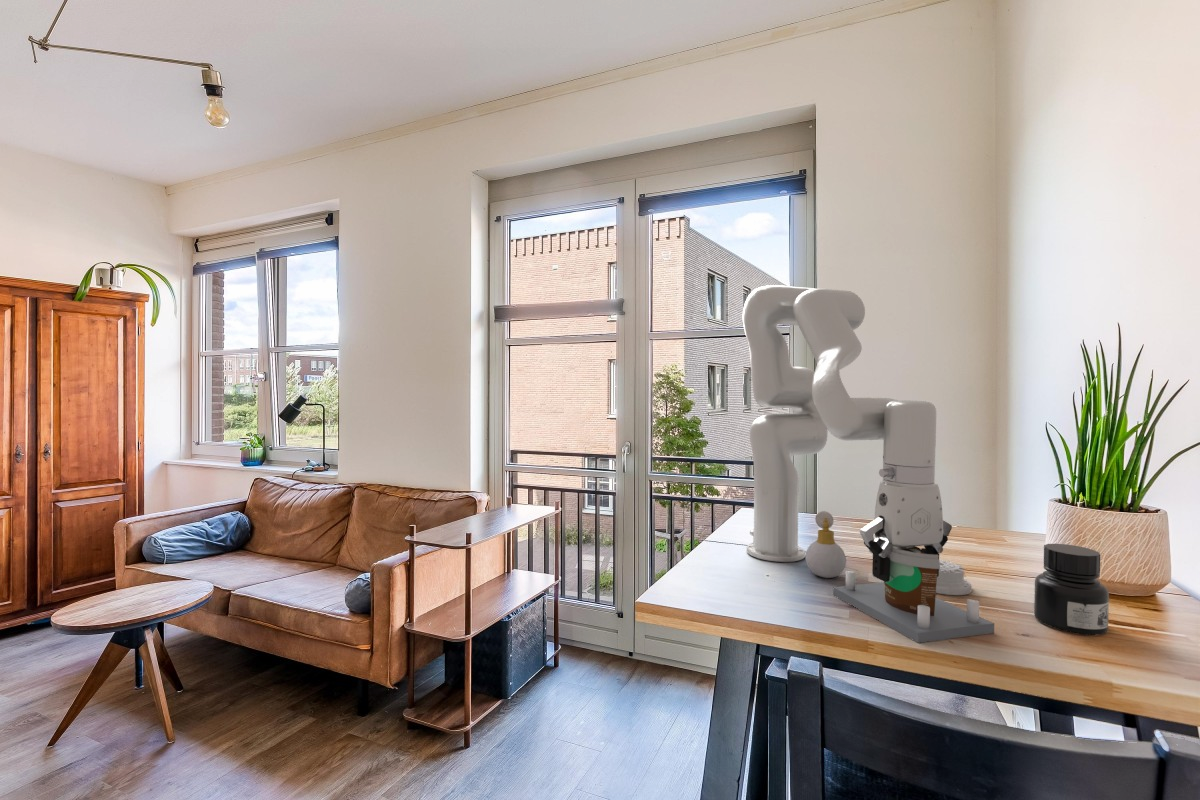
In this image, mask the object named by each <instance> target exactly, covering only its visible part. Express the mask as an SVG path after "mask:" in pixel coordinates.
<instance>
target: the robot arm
mask: <svg viewBox="0 0 1200 800" xmlns="http://www.w3.org/2000/svg"><path fill="white" fill-rule="evenodd" d="M865 316H866V308H865V304H864V302H863V300H862V299H861V298H860V297H859V295H858V294H856V293H855V292H852V291H851V290H850V291H849V290H843V289H842V290H841V289H832V288H831V289H829V288H813V287H803V286H801V287H799V286H789V285H777V284H776V285H775V284H774V285H771V284H770V285H765V286H760V287H758V288H755V289H753V290H752V291H751V292H750V294H748V296H747V298H746V300H745V302H744V306H743V310H742V323H743V324H742V326H743V329H744V334H745V336H746V337H745V338H746V341H747V343H748V348H749V350H748V351H749V359H750V360H749V361H750V372H751V382H752V393H753V397H754V400H755V402H756V404H757V405H759V406H760V407H763V408H767V409H791V410H792V413H768V414H764V415H761V416H759V417H757V418H756V419H755V420H753V422H752V424H751V426H750V428H749V441H750V446H751V451H752V458H753V459H752V460H753V488H754V489H753V529H751V530H750V531H749V535H751V536H752V537H753V538H752V542H750V543H748V544H747V545H746V552H747V554H748V555H749V556H752V557H754V558H757V559H759V560H764V561H768V562H775V563H776V562H777V563H778V562H779V563H792V562H798V561H802V560H804V558H805V559H806V550H805V549H804V548H802V547H800V546H799V474H798V471H797V469H796V467H795V464H794V463H793V461H792V459H791V457H793V456H809V455H815V454H818V453H821V452H822V451H823V449H824V448H825V446H826V445H827V441H828V432H829V433H830V434H831V435H832V436H833V437H835V438H837V439H839V440H841V441H851V442H852V441H879V440H880V441H883V442H882V443H883V445H882V446H883V450H882V451H883V452H882V468H880V469H879V470H878V474H879V477H881V478H882V481H880V482H879V485H878V490H877V495H876V499H875V506H874V507H875V508H874V517H873V518H874V520H872V521H870V522H869V523H867V524H865V526H863V527H862V528H860V530H859V534H860V537H861V539H862V541H863V544H864V546H865V547H866V548H867V549H868V551H869V553H871V554H872V576H873V577H874V578H876V579H878V580H881V581H882V582H889V580H890V558H889V557H886V556H887V555H888V553H889V552H890V551H891V549H892V548H893V546H897V547H912V546H916V547H922V548H920V549H921V550H922V551H923V552H925V553H926V554H932V555H938V559H939V560H940V554H941V553H943V551H944V546H945V545H946V543H948V541H949V538H948V537H949V535H950V533H951V531H952V528H953V526H952V524H951V523H949V522H947V521H946V520H944V517H943V505H942V497H941V491H940V487H939V484H938V483H935V481H936V480H935V477H936V438H937V435H936V434H937V408H936V406H935V405H934V403H932V402H929V401H926V400H925V401H924V400H898V399H893V398H887V397H851V396H850V395H849V393H848V391H847V389H846V388H845V385H844V384H843V381H842V378H841V375H840V374H841V373H840V370H842V369H845V368H846V367H848V366H849V365H851V364H852V363H853V362H854V361H856V359H858V357H859V356H860V355H861V352H862V350H863V349H862V344H861V341H860V339H859V338H858V336H857V334H856V333H855V330H856V329H858V328H859V327H860V326H861V325H862V323H863V322H864V319H865ZM778 325H784V326H798V327H799V329H800V331H801V333H802V336H803V338H804V339H805V342H806V344H807V346H808V347H809V350H810V352H811V354H812V355H813V358H814V359H815V362H816V367H815V369H814V370H813V369H811V368H809V367H804V366H793V365H791V362H790V354H789V346H788V342H787V341H786V339H785V337H784V335H783V334H782V332H780V330H779V329H778V328H777V326H778ZM874 537H875V538H874ZM883 543H885V544H884V545H883V547H882V548H881V545H882V544H883ZM923 547H924V548H923ZM938 576H939V569H938V571H937V577H938Z"/></svg>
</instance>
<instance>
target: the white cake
mask: <svg viewBox="0 0 1200 800" xmlns="http://www.w3.org/2000/svg"><path fill="white" fill-rule="evenodd" d="M939 562H940V569H939V576H938V577H937V584H936V594H939V595H947V596H963V595H968V594H970V593H972V583H971V582H970V581H969V580H968V579H966V578H965V576H964V566H962V565H959V563H954V562H951V561H949V560H947V561H946V560H943V559H939Z"/></svg>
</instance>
